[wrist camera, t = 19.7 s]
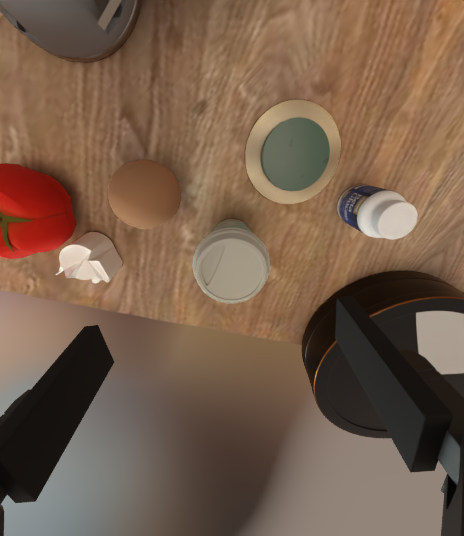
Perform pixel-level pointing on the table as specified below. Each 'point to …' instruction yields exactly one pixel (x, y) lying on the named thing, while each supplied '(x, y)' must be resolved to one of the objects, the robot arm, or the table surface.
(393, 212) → the pill bottle
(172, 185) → the egg
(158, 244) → the table surface
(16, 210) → the tomato
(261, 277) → the coffee cup
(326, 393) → the container
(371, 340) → the robot arm
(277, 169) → the lid
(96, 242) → the jagged white extruded chunk
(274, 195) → the coaster
